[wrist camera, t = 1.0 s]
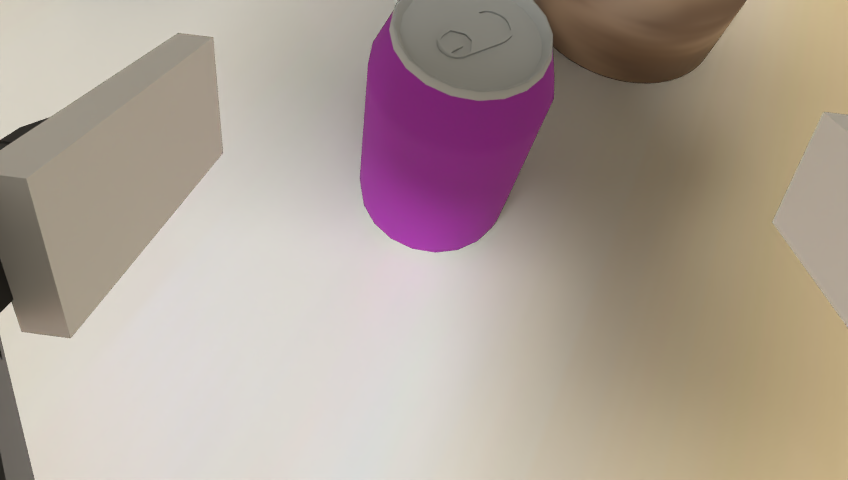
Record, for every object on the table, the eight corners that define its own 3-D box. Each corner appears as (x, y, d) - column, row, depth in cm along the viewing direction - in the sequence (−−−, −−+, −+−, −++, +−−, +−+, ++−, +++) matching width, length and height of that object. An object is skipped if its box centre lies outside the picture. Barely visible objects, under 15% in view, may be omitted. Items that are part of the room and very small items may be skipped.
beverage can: (417, 287, 32) (459, 144, 21) (330, 178, 34) (329, 1, 24) (528, 213, 35) (614, 55, 24) (441, 117, 37) (484, -65, 26)
